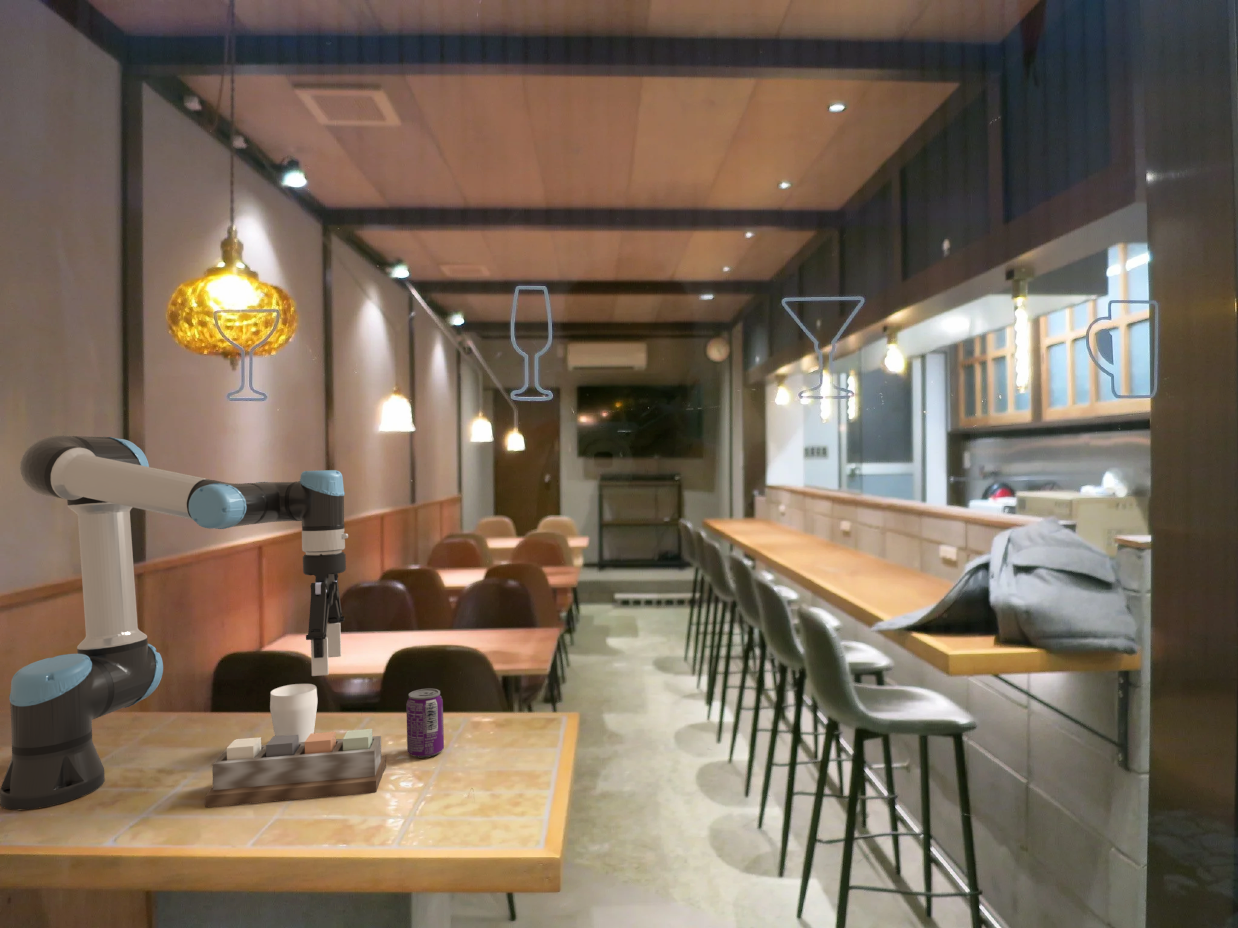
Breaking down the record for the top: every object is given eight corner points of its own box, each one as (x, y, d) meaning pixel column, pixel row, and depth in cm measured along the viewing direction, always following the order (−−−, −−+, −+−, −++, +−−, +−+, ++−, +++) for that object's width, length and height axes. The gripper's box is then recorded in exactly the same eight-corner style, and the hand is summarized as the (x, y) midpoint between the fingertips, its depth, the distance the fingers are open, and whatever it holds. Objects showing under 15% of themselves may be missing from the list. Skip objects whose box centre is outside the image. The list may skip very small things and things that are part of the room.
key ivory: (227, 765, 132) (226, 747, 132) (235, 755, 136) (235, 739, 137) (253, 762, 133) (253, 745, 133) (261, 753, 137) (261, 737, 137)
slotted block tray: (205, 807, 128) (204, 769, 128) (229, 778, 140) (229, 743, 140) (376, 791, 133) (375, 754, 133) (386, 765, 144) (385, 731, 144)
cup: (307, 755, 150) (305, 695, 150) (262, 756, 151) (261, 696, 151) (325, 739, 159) (324, 682, 159) (283, 740, 160) (282, 683, 160)
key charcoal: (266, 761, 133) (266, 744, 133) (273, 752, 138) (273, 736, 138) (292, 759, 134) (292, 742, 134) (298, 750, 138) (298, 734, 138)
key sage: (343, 755, 135) (342, 738, 135) (347, 746, 140) (347, 730, 140) (368, 753, 136) (368, 736, 136) (372, 744, 140) (372, 728, 140)
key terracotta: (305, 758, 134) (304, 741, 134) (310, 749, 139) (310, 733, 139) (330, 756, 135) (330, 739, 135) (336, 747, 139) (335, 731, 139)
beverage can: (448, 746, 154) (447, 687, 154) (437, 760, 147) (435, 698, 147) (415, 746, 154) (413, 687, 154) (401, 759, 147) (400, 698, 147)
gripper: (333, 558, 130) (336, 681, 130) (355, 544, 154) (357, 648, 154) (287, 560, 128) (290, 685, 128) (316, 546, 153) (319, 651, 153)
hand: (327, 665), depth 141 cm, fingers open, 13 cm apart
